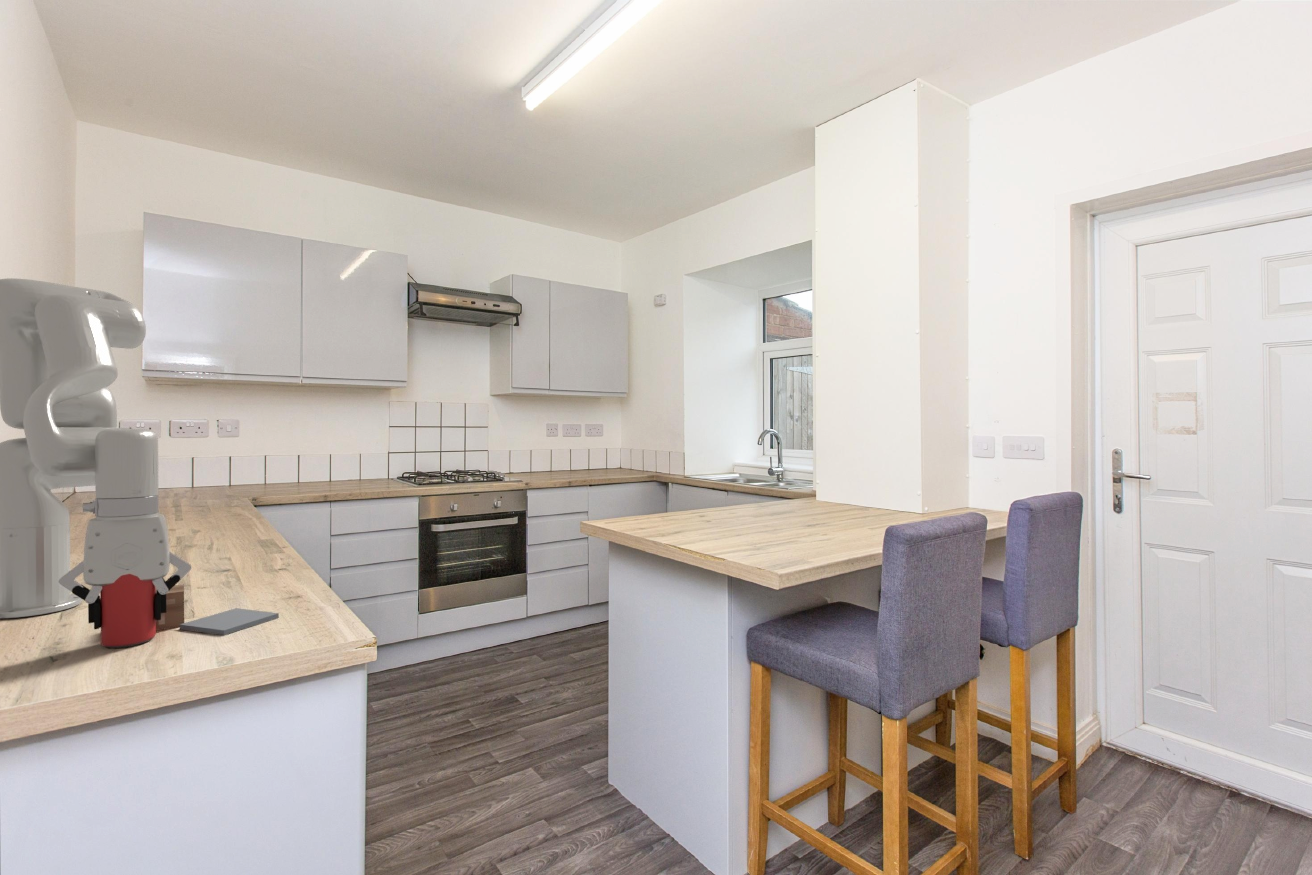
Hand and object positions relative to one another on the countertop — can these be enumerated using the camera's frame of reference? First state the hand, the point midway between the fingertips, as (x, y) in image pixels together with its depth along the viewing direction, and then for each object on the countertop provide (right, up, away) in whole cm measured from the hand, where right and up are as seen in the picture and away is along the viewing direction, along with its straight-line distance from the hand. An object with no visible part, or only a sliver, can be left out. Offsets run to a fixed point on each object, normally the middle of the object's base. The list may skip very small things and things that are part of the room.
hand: (128, 621), depth 98 cm
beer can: (0, -3, 0) cm, 3 cm away
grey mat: (+9, -3, +10) cm, 14 cm away
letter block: (-2, -3, +9) cm, 10 cm away
